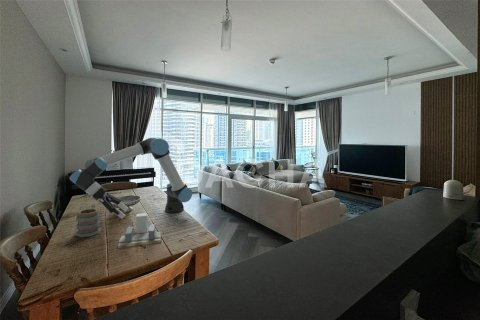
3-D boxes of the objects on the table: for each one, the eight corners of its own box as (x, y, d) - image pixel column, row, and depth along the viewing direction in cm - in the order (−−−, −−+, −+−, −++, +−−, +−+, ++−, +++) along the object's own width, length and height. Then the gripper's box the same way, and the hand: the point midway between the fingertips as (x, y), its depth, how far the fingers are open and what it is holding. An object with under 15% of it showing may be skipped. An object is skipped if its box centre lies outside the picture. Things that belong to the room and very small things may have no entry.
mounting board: (161, 233, 139) (160, 230, 138) (160, 242, 127) (160, 238, 127) (121, 238, 131) (121, 235, 131) (118, 247, 120) (117, 244, 120)
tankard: (97, 235, 134) (96, 212, 133) (72, 238, 131) (71, 213, 129) (106, 223, 153) (105, 202, 152) (85, 225, 150) (84, 204, 148)
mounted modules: (154, 231, 136) (154, 224, 136) (154, 238, 127) (154, 230, 126) (128, 235, 131) (127, 226, 131) (125, 242, 122) (125, 233, 121)
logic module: (147, 229, 145) (147, 213, 144) (146, 232, 140) (146, 215, 139) (137, 230, 143) (136, 214, 142) (136, 233, 138) (136, 216, 137)
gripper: (97, 191, 142) (124, 211, 148) (84, 201, 118) (117, 225, 125) (106, 182, 143) (132, 203, 150) (95, 191, 120) (127, 215, 126)
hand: (125, 213), depth 137 cm, fingers open, 13 cm apart
